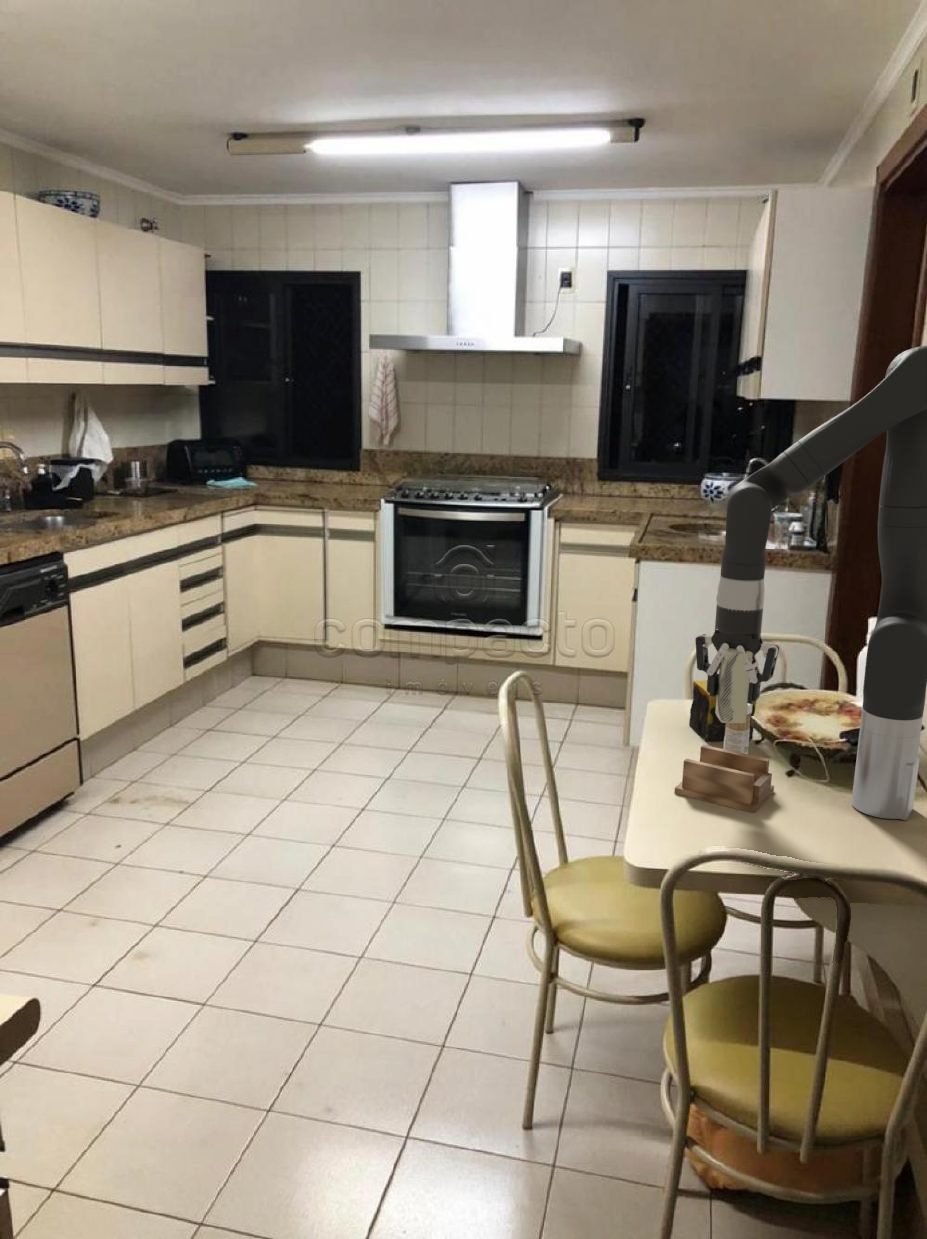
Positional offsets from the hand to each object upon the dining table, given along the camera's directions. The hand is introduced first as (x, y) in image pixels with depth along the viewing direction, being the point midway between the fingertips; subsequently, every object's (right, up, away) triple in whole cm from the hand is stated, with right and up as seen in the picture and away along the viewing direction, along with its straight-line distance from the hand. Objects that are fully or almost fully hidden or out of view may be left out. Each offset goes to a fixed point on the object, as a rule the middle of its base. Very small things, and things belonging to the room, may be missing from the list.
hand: (732, 698), depth 164 cm
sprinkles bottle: (+4, -15, +14) cm, 21 cm away
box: (0, -4, +1) cm, 4 cm away
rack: (0, -17, +4) cm, 17 cm away
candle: (+7, -10, +33) cm, 36 cm away
